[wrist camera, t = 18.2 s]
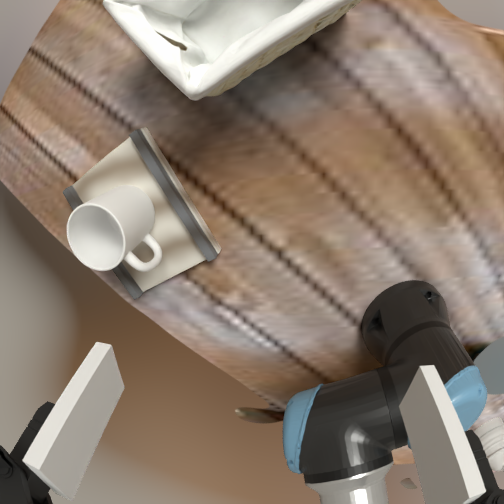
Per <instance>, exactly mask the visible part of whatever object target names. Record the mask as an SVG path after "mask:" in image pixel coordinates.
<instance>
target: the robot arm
mask: <svg viewBox="0 0 504 504" xmlns="http://www.w3.org/2000/svg"><path fill="white" fill-rule="evenodd" d="M362 335H363V338H364V341H365V344H366V346H367V348H368V350H369V351H370V352H371V354H372V355H373V356H374V357H375V358H376V359H377V360H378V361H379V362H380V363H381V364H382V365H383V367H380V368H377V369H374V370H371V371H368V372H365V373H362V374H359V375H356V376H353V377H350V378H347V379H343V380H340V381H336V382H333V383H329V384H325V385H324V384H319V385H318V386H317V387H314V388H311V389H308V390H305V391H302V392H299V393H297V394H295V395H294V396H293V397H292V398H291V399H290V400H289V402H288V404H287V407H286V410H285V414H284V420H283V447H284V455H285V458H286V459H287V465H288V467H289V469H290V470H291V471H292V472H294V473H298V474H301V473H303V474H304V479H305V484H306V486H308V487H309V488H311V489H313V490H315V491H316V492H317V493H318V494H319V496H320V502H321V504H389V501H388V496H387V489H386V484H385V476H386V474H387V472H388V471H389V469H390V468H391V466H392V465H393V463H394V462H393V457H392V452H391V451H392V450H393V449H397V448H400V447H402V446H405V445H408V447H409V448H410V449H411V450H412V452H413V456H414V460H415V463H416V467H417V471H418V475H419V479H420V483H421V487H422V492H423V496H424V500H425V504H504V490H502V489H499V487H498V485H497V483H496V480H495V477H494V474H493V472H492V469H491V466H490V464H489V461H488V458H486V453H485V451H484V450H483V446H482V443H481V441H480V439H479V437H478V436H477V435H476V434H475V433H474V432H473V431H472V430H468V429H469V428H470V427H471V425H472V424H473V423H474V422H475V421H476V420H477V419H478V417H479V416H480V414H481V413H482V411H483V409H484V407H485V404H486V400H487V389H486V386H485V384H484V382H483V380H482V378H481V376H480V372H479V369H478V368H477V366H475V365H474V363H473V361H472V360H471V358H470V357H469V355H468V353H467V352H466V350H465V349H464V347H463V346H462V344H461V343H460V341H459V340H458V338H457V337H456V335H455V334H454V332H453V331H452V329H451V328H450V322H449V317H448V312H447V307H446V303H445V301H444V299H443V297H442V296H441V295H440V293H439V292H438V291H437V289H436V288H435V287H433V286H432V285H431V284H429V283H426V282H423V281H417V280H412V281H405V282H401V283H398V284H396V285H394V286H392V287H390V288H388V289H386V290H385V291H383V292H382V293H381V294H380V295H379V296H377V297H376V298H375V300H374V301H373V302H372V303H371V304H370V306H369V307H368V309H367V311H366V313H365V315H364V318H363V321H362ZM123 390H124V384H123V381H122V378H121V375H120V372H119V369H118V365H117V362H116V359H115V356H114V352H113V348H112V345H109V344H104V343H99V342H96V344H95V345H94V347H93V348H92V349H91V351H90V352H89V354H88V355H87V357H86V358H85V360H84V361H83V363H82V364H81V366H80V367H79V369H78V370H77V372H76V373H75V375H74V376H73V378H72V379H71V381H70V382H69V384H68V385H67V387H66V389H65V390H64V392H63V393H62V395H61V396H60V398H59V399H58V401H57V403H56V404H53V403H51V402H46V403H45V404H44V405H42V406H41V407H40V408H38V410H37V411H36V413H35V415H34V416H33V419H32V420H31V421H30V423H29V424H28V427H26V429H25V430H24V432H23V434H22V435H21V437H20V439H19V440H18V442H17V444H16V445H15V447H14V449H13V451H12V452H11V453H10V455H9V454H8V452H7V451H6V450H5V449H4V448H3V447H2V446H0V504H53V503H52V500H51V497H50V495H49V493H48V492H49V490H50V488H51V489H52V490H53V491H54V492H55V493H56V494H58V495H60V496H62V497H64V498H66V499H69V500H71V501H73V499H74V497H75V494H76V492H77V490H78V487H79V485H80V482H81V480H82V478H83V476H84V473H85V471H86V469H87V467H88V464H89V462H90V460H91V458H92V455H93V453H94V451H95V448H96V447H97V444H98V442H99V440H100V438H101V436H102V433H103V431H104V429H105V427H106V425H107V423H108V421H109V419H110V417H111V414H112V412H113V410H114V408H115V406H116V404H117V402H118V400H119V398H120V396H121V394H122V392H123ZM467 430H468V431H467Z"/></svg>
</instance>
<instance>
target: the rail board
mask: <svg viewBox="0 0 504 504" xmlns="http://www.w3.org/2000/svg"><path fill="white" fill-rule="evenodd" d="M129 136H130V138H128V139H127V140H126V141H124V142H123V143H122V144H121V145H119V146H118V147H117V148H116V149H114V150H113V151H112V152H111V153H109V154H108V155H107V156H106V157H104V158H103V159H102V160H101V161H100V162H99V163H97V164H96V165H95V166H94V167H93V168H91V169H90V170H89V171H88V172H87V173H86V174H85V175H83V176H82V177H81V178H80V179H79V180H78V181H77V182H76V183H75V184H73V185H72V186H70V187H68V188H66V189H65V190H64V191H63V194H64V196H65V197H66V199H67V201H68V202H69V204H70V206H71V207H72V209H73V211H74V210H75V209H76V208H77V207H78V206H80V205H82V204H84V203H86V202H88V201H89V200H91V199H93V198H95V197H97V196H99V195H101V194H103V193H105V192H107V191H109V190H111V189H113V188H115V187H118V186H121V185H132V186H135V187H138V188H140V189H141V190H143V191H144V192H145V193H146V194H147V195H148V196H149V198H150V199H151V201H152V203H153V206H154V210H155V221H154V225H153V227H152V229H151V231H150V233H149V234H150V235H151V236H152V237H153V238H154V239H155V240H156V241H157V243H158V244H159V246H160V247H161V250H162V259H161V262H160V263H159V265H158V266H157V267H156V268H154V269H153V270H151V271H148V272H141V271H138V270H136V269H135V268H133V267H132V266H131V265H129V264H128V263H127V262H126V261H125V260H124V259H123V260H122V261H121V262H120V263H119V264H118V265H117V266H116V267H115V268H113V269H112V270H113V271H114V273H115V274H116V276H117V277H118V278H119V280H120V281H121V282H122V284H123V285H124V287H125V288H126V289H127V291H128V292H129V293H130V295H131V296H132V297H133V299H134V300H135V299H137V298H139V297H140V296H141V294H142V293H143V292H144V291H146V290H148V289H150V288H152V287H154V286H156V285H158V284H160V283H162V282H163V281H165V280H167V279H169V278H171V277H173V276H175V275H177V274H179V273H181V272H183V271H185V270H187V269H189V268H191V267H193V266H194V265H196V264H198V263H200V262H202V261H204V260H206V259H207V260H208V262H209V261H211V260H213V259H215V258H216V257H217V254H218V253H220V251H221V247H220V245H219V244H218V242H217V241H216V239H215V237H214V236H213V234H212V233H211V231H210V230H209V228H208V226H207V225H206V223H205V222H204V220H203V218H202V217H201V215H200V214H199V212H198V210H197V209H196V207H195V206H194V204H193V202H192V201H191V199H190V198H189V196H188V194H187V193H186V191H185V190H184V188H183V186H182V185H181V183H180V181H179V180H178V178H177V177H176V175H175V173H174V172H173V170H172V168H171V167H170V165H169V164H168V162H167V160H166V159H165V157H164V155H163V154H162V152H161V150H160V149H159V147H158V145H157V144H156V142H155V140H154V139H153V137H152V135H151V134H150V132H149V130H148V129H147V128H142V129H138V130H135V131H134V132H132V133H131V134H130V135H129ZM131 252H132V253H133V254H134V255H135V256H136V257H137V258H138V259H139V260H140V261H142V262H144V263H147V262H149V261H151V260H152V259H153V258H154V252H153V250H152V249H151V248H150V247H149V246H148V245H147V244H146V243H145V242H143V241H141V242H140V243H139V244H138V245H137V246H136V247H135V248H134V249H133V250H132V251H131Z"/></svg>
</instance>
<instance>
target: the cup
mask: <svg viewBox="0 0 504 504" xmlns="http://www.w3.org/2000/svg"><path fill="white" fill-rule="evenodd" d="M154 221H155V210H154V206H153V203H152V201H151V199H150V198H149V196H148V195H147V194H146V193H145V192H144V191H143V190H141V189H140V188H138V187H135V186H132V185H121V186H118V187H115V188H113V189H111V190H109V191H107V192H105V193H103V194H101V195H99V196H97V197H95V198H93V199H91V200H89V201H88V202H86V203H84V204H82V205H80V206H78V207H77V208H76V209H75V210H74V211H73V212H72V213H71V215H70V217H69V220H68V223H67V237H68V242H69V245H70V247H71V249H72V251H73V253H74V254H75V256H76V257H77V258H78V259H79V260H80V261H81V262H82V263H83V264H85V265H86V266H87V267H89V268H91V269H94V270H98V271H107V270H111V269H113V268H115V267H116V266H117V265H118V264H119V263H120V262H121V261H122V260H123V259H124V260H125V261H126V262H127V263H128V264H129V265H131V266H132V267H133V268H135V269H136V270H138V271H141V272H148V271H151V270H153V269H154V268H156V267H157V266H158V265H159V263H160V262H161V259H162V250H161V247H160V246H159V244H158V243H157V241H156V240H155V239H154V238H153V237H152V236H151V235H150V234H149V233H150V231H151V229H152V227H153V225H154ZM141 241H143V242H145V243H146V244H147V245H148V246H149V247H150V248H151V249H152V250H153V252H154V258H153V259H152V260H151V261H149V262H147V263H144V262H142V261H140V260H139V259H138V258H137V257H136V256H135V255H134V254H133V253H132V252H131V251H132V250H133V249H134V248H135V247H136V246H137V245H138V244H139V243H140V242H141Z"/></svg>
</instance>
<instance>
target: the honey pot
mask: <svg viewBox="0 0 504 504" xmlns="http://www.w3.org/2000/svg"><path fill="white" fill-rule="evenodd" d="M474 433H475V434H476V435H477V436H478V437H479V439H480V441H481V443H482V446H483V450H484V451H485V453H486V458H488V461H489V464H490V466H491V469H492V470H494V471H501V470H502V469H503V471H504V423H503V421H502V419H501V418H499V417H498V418H494V419H491V420H489V421H488V422H486V423H484V424H483V425H481V426H480V427H479V428H477V429H476V430H475V431H474Z"/></svg>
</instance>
